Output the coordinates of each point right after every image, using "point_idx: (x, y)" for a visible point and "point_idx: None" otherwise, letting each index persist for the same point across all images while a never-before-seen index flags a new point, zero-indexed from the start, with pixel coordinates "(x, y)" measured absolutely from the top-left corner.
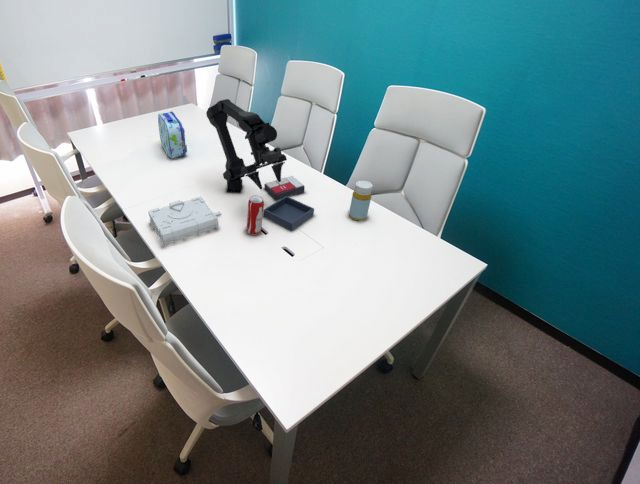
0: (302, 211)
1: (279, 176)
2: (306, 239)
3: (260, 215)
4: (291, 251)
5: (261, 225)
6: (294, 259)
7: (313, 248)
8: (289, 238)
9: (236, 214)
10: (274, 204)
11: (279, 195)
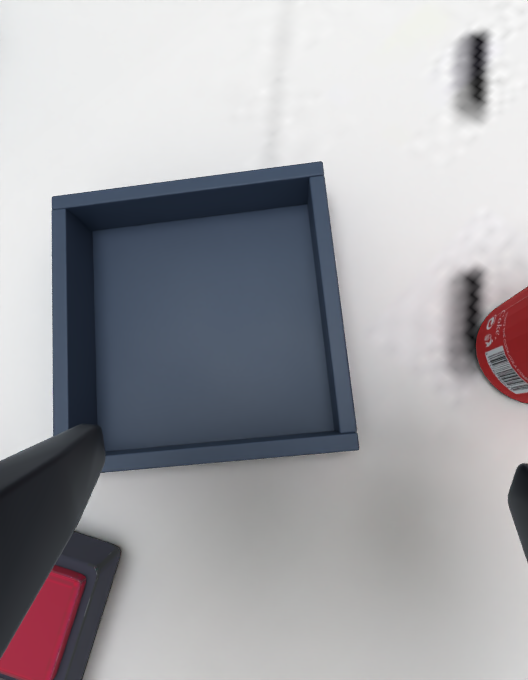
0: (102, 292)
1: (25, 471)
2: (307, 89)
3: None
4: (458, 64)
5: (523, 289)
6: (491, 10)
7: (337, 16)
8: (381, 152)
9: (507, 622)
10: (230, 444)
11: (70, 548)
